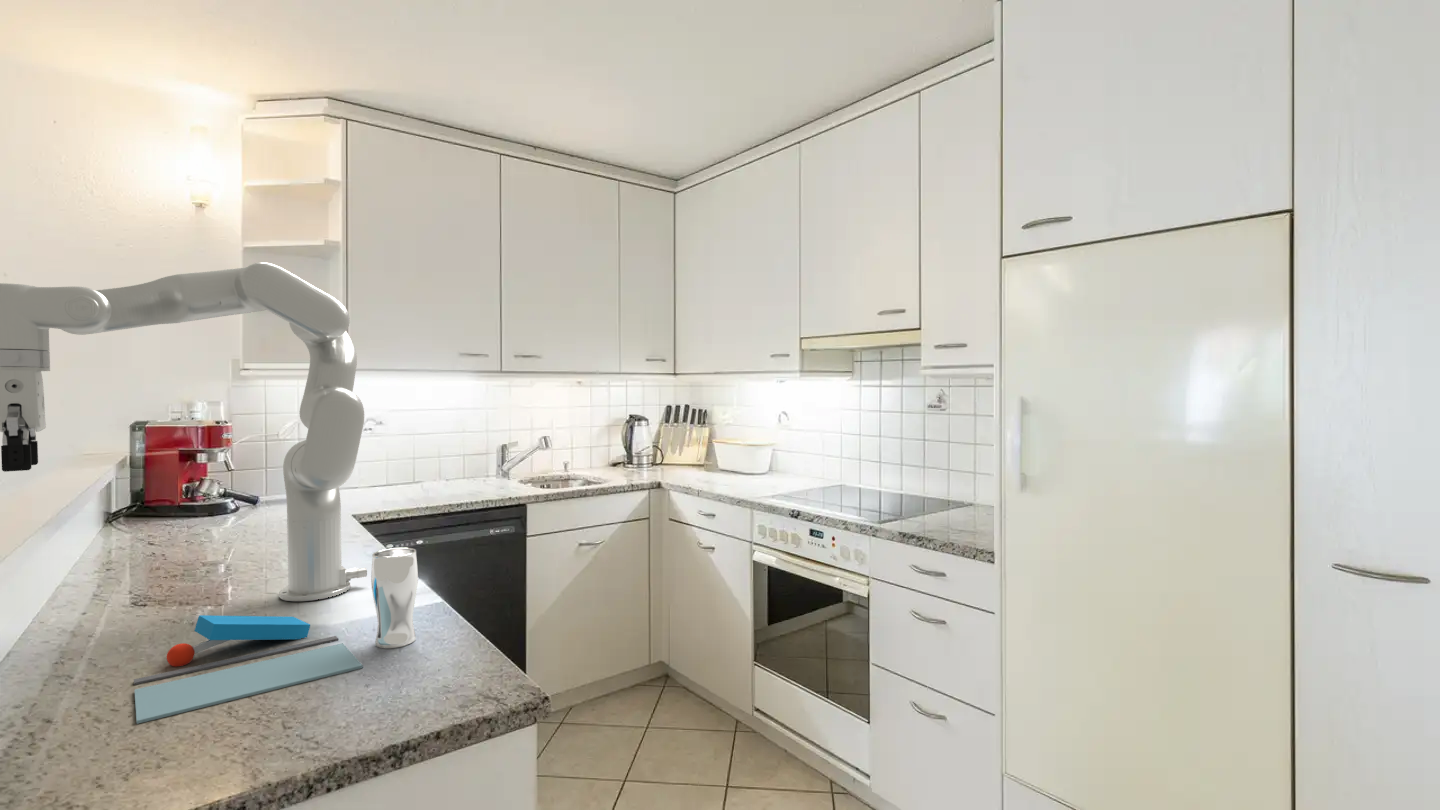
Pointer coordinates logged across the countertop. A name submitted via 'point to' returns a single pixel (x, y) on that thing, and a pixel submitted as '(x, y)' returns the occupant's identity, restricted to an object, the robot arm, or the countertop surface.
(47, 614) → the countertop surface
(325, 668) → the mat
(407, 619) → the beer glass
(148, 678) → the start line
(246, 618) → the lever
